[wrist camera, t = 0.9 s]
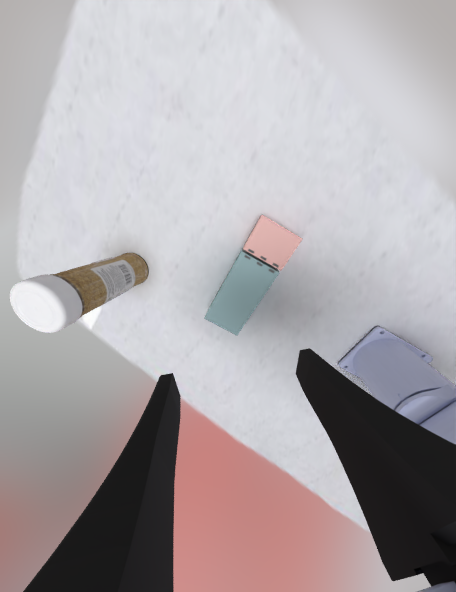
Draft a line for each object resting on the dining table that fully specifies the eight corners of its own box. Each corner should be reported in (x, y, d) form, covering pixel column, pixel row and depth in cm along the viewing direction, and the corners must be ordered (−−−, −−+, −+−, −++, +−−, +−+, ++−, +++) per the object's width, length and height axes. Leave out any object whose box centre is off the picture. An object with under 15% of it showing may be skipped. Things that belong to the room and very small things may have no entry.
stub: (296, 236, 23) (303, 238, 20) (277, 265, 24) (281, 271, 22) (260, 215, 23) (262, 214, 20) (243, 245, 24) (242, 249, 21)
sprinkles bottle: (116, 251, 26) (-4, 278, 14) (148, 254, 26) (53, 284, 14) (121, 282, 28) (17, 331, 16) (151, 285, 28) (69, 338, 15)
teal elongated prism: (276, 267, 25) (279, 273, 22) (238, 324, 28) (237, 336, 25) (242, 247, 24) (241, 251, 21) (208, 308, 28) (204, 318, 25)
